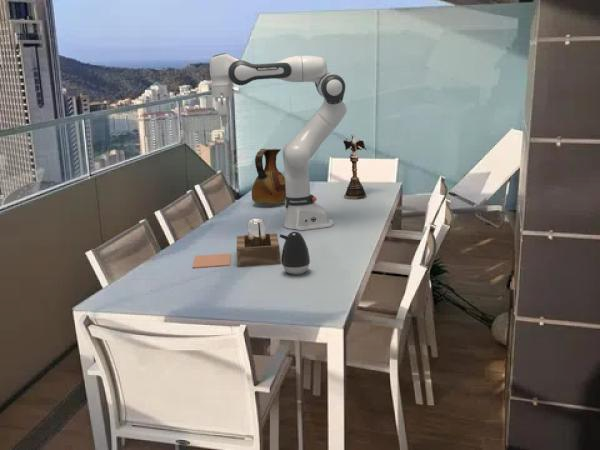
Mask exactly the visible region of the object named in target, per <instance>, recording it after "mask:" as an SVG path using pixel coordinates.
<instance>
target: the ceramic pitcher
mask: <svg viewBox="0 0 600 450" xmlns="http://www.w3.org/2000/svg"><path fill="white" fill-rule="evenodd" d="M281 151H282V149H280V148H272V149H271V148H269V149H268V148H260V150H258V152H256V155H255V158H254V162H255V163H254V165H255V168H256V173H257V176H256V178H255V180H254V182H253V185H252V188H251V199H252V201H253V202H254V203H258V204H260V205H264V206H278V205H280V204H283V203H285V196H286V188H285V175H283V174H282V172H281V171H279V169H278V166H277V156H278V154H279V152H281ZM263 157H264V160H265V161H264V162H265V164H263ZM264 165H265V166H264Z"/></svg>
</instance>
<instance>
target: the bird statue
mask: <svg viewBox="0 0 600 450" xmlns="http://www.w3.org/2000/svg"><path fill="white" fill-rule="evenodd" d="M350 135H351V140H348V137H347V136H346V137H345V139H344V140H343V141H342V142H343V144H344V147H345V152H346V151H347V150H349V149H350V151H351V152H350V155H349V159H350V160H349V161H350V162H351V164H352V166H351V168H352V169H351V171H352V177H350V181H349V184H348V185H347V187H346V191H345V194H344V195H343V199H346V200H363V199H366V197H367V194H366V191H365V189H364V186H363V185H362V182H361V181H360V177H358V167H357V163H358V161H359V158H360V156H359V155H358V152H357V151H358V150H360V151H362V150H366V151H368V150H367V147H366V146H365V143H364V140H363V139H359V140H356V138H355V137H356V136H355V134H353V133H352V134H350Z"/></svg>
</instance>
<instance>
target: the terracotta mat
mask: <svg viewBox="0 0 600 450" xmlns="http://www.w3.org/2000/svg"><path fill="white" fill-rule="evenodd" d="M192 263H193V264H192V269H203V268H217V267H230V266H231V253H216V254H215V253H214V254H203V255H195V256H194V259H193V262H192Z"/></svg>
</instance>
